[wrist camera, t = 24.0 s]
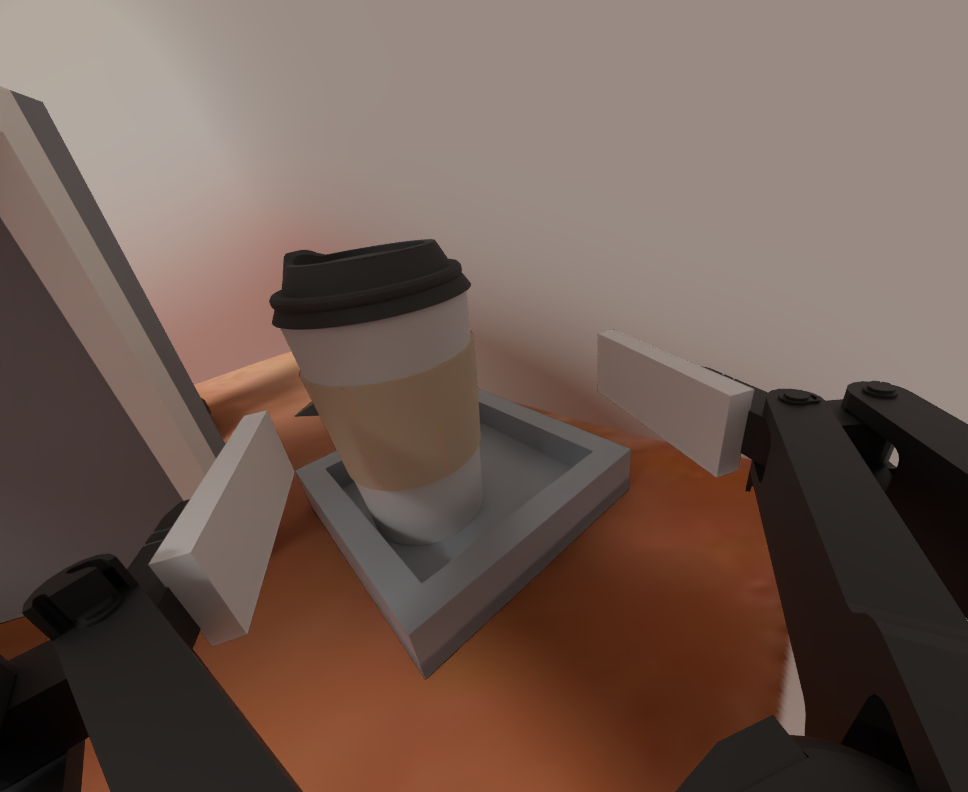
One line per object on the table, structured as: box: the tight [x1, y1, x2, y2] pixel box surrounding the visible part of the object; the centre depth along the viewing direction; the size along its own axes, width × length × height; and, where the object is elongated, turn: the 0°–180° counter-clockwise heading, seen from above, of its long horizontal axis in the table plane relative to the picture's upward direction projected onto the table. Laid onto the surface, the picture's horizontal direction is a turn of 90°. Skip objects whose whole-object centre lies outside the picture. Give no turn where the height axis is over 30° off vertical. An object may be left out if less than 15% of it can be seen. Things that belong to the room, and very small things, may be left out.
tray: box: [295, 389, 631, 680], centre depth 24 cm, size 15×15×3 cm
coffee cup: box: [269, 239, 483, 546], centre depth 20 cm, size 9×9×15 cm
